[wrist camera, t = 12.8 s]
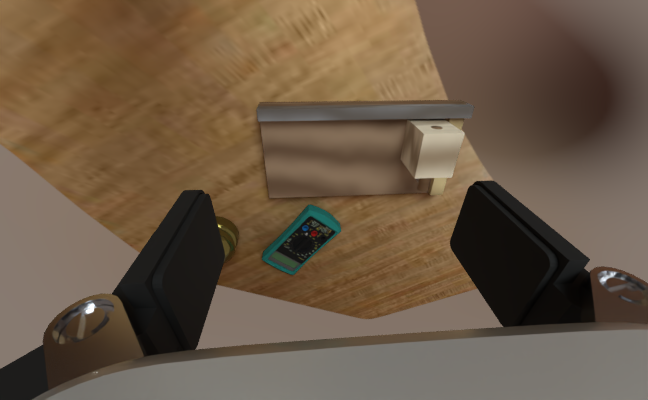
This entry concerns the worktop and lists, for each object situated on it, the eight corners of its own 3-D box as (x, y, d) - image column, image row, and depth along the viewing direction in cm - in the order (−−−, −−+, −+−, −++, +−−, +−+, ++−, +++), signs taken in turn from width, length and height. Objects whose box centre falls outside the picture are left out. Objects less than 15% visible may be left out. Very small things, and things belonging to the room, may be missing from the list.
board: (259, 102, 37) (256, 109, 34) (461, 100, 38) (474, 106, 35) (270, 191, 44) (268, 203, 41) (437, 186, 46) (447, 197, 43)
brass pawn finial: (187, 233, 48) (163, 278, 39) (211, 207, 45) (191, 249, 37) (223, 253, 51) (208, 299, 43) (248, 230, 48) (237, 274, 40)
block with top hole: (407, 118, 37) (424, 133, 32) (442, 118, 38) (464, 133, 33) (397, 176, 42) (410, 198, 37) (428, 176, 42) (446, 196, 37)
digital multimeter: (342, 220, 49) (345, 231, 47) (292, 267, 55) (292, 278, 52) (311, 199, 46) (311, 209, 44) (261, 251, 52) (259, 262, 49)
